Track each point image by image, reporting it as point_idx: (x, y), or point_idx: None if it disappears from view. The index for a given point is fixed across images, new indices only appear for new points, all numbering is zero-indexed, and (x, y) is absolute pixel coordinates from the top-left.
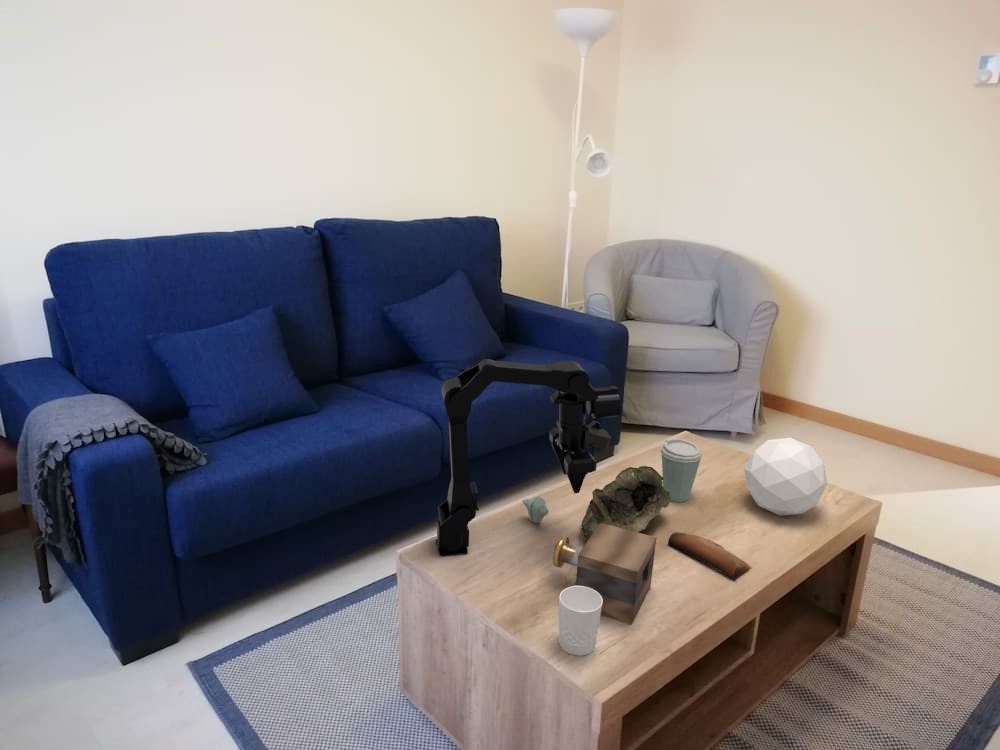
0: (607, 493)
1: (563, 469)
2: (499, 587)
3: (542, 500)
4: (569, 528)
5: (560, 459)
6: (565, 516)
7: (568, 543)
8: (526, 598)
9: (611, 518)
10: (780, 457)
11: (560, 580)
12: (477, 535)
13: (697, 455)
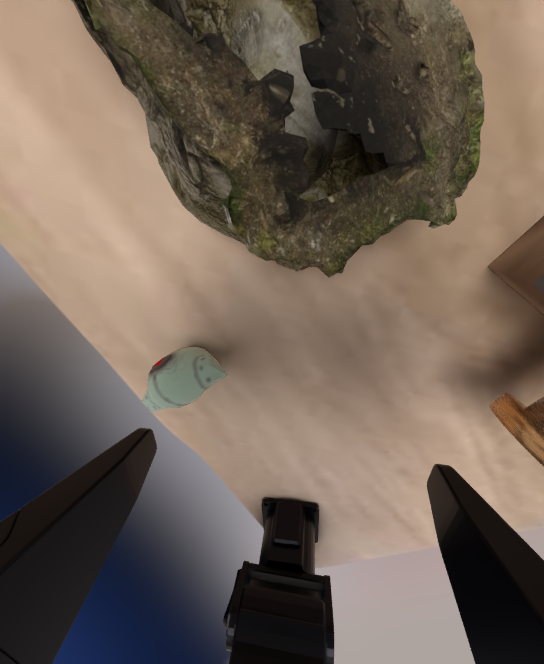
0: (238, 126)
1: (137, 488)
2: None
3: (173, 382)
4: (233, 273)
5: (77, 599)
6: (164, 265)
7: (535, 423)
8: (519, 458)
9: (414, 164)
10: None
11: (484, 374)
12: (251, 473)
13: None
